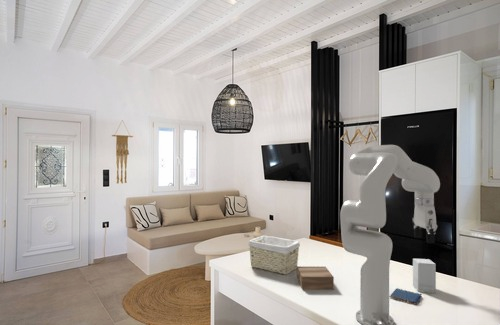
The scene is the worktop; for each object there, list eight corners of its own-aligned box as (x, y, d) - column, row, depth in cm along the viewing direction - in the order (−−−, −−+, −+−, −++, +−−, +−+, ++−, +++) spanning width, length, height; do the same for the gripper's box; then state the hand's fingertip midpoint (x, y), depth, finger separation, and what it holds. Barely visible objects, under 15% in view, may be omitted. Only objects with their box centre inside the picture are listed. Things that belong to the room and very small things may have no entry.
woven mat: (395, 291, 136) (395, 287, 136) (422, 298, 129) (422, 293, 129) (388, 299, 128) (388, 294, 128) (416, 307, 121) (416, 301, 121)
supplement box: (436, 293, 133) (436, 264, 134) (417, 291, 135) (417, 262, 135) (429, 286, 141) (430, 259, 141) (412, 285, 142) (412, 257, 142)
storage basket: (300, 268, 165) (301, 240, 165) (286, 277, 152) (286, 247, 152) (263, 260, 179) (263, 234, 179) (247, 267, 165) (247, 240, 166)
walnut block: (333, 290, 136) (333, 277, 136) (302, 290, 136) (302, 276, 136) (325, 278, 150) (325, 266, 150) (296, 278, 150) (297, 266, 150)
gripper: (444, 204, 130) (444, 245, 129) (421, 199, 147) (421, 235, 147) (427, 204, 129) (427, 245, 129) (405, 199, 147) (405, 235, 147)
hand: (424, 240), depth 138 cm, fingers open, 9 cm apart
